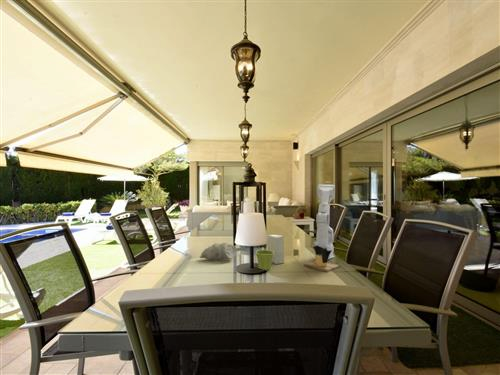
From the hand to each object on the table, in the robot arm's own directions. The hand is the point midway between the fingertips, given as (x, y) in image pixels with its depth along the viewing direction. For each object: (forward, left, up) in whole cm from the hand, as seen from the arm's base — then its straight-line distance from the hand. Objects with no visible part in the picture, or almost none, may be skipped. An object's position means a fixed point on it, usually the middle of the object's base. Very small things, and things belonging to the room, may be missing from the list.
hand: (321, 261), depth 151 cm
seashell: (+34, -45, -3) cm, 56 cm away
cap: (0, 0, -2) cm, 2 cm away
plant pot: (+27, -17, -3) cm, 32 cm away
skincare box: (+12, -22, -3) cm, 25 cm away
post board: (0, 0, -3) cm, 3 cm away
